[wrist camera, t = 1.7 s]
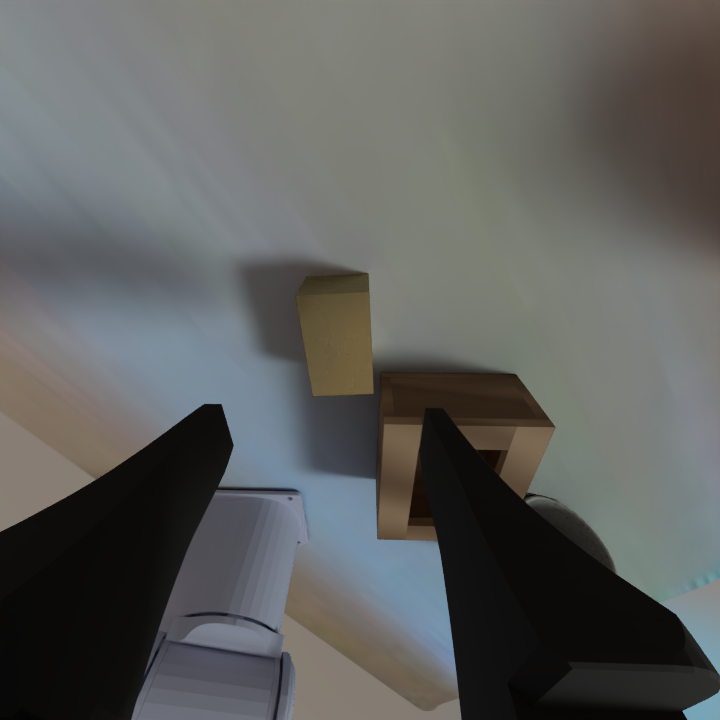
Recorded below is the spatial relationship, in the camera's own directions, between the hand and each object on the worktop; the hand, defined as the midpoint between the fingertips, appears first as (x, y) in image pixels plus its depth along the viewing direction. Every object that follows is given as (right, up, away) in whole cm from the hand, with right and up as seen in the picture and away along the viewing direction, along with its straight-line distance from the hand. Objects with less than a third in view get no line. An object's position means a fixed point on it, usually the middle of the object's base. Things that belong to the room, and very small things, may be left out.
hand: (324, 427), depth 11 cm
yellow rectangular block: (0, +5, +8) cm, 9 cm away
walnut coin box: (+7, -3, +12) cm, 15 cm away
